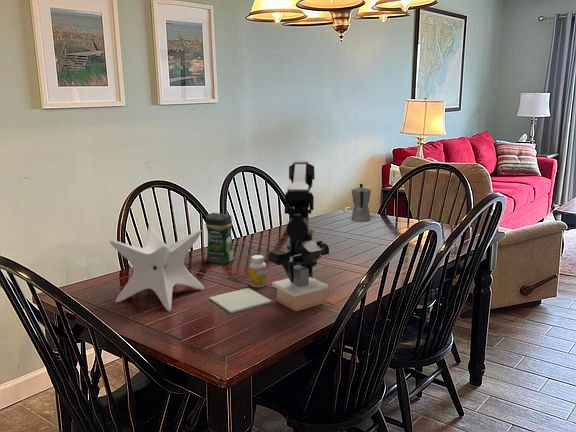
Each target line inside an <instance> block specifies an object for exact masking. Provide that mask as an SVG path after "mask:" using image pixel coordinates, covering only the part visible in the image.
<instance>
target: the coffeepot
mask: <svg viewBox="0 0 576 432" xmlns="http://www.w3.org/2000/svg"><path fill="white" fill-rule="evenodd" d="M363 186H364V184H363V183H359V187H356V188H352V189H351V197H352V203H353V209H352V214H351V220H352V222H356V223H367V222H370V220H371V215H370V210H369V209H370V208H369V204H370V199H371V198H370V197H371V193H372V190H371V189H369V188H365V187H363Z"/></svg>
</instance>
